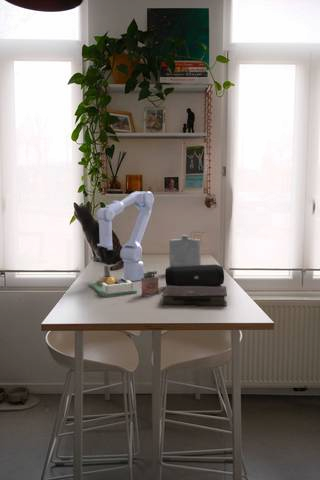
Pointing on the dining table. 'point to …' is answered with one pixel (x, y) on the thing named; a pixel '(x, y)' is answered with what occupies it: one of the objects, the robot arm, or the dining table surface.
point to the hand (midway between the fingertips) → (106, 263)
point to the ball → (110, 281)
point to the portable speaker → (195, 275)
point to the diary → (195, 296)
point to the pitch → (98, 288)
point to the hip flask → (185, 251)
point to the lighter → (150, 284)
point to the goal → (117, 287)
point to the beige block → (106, 275)
